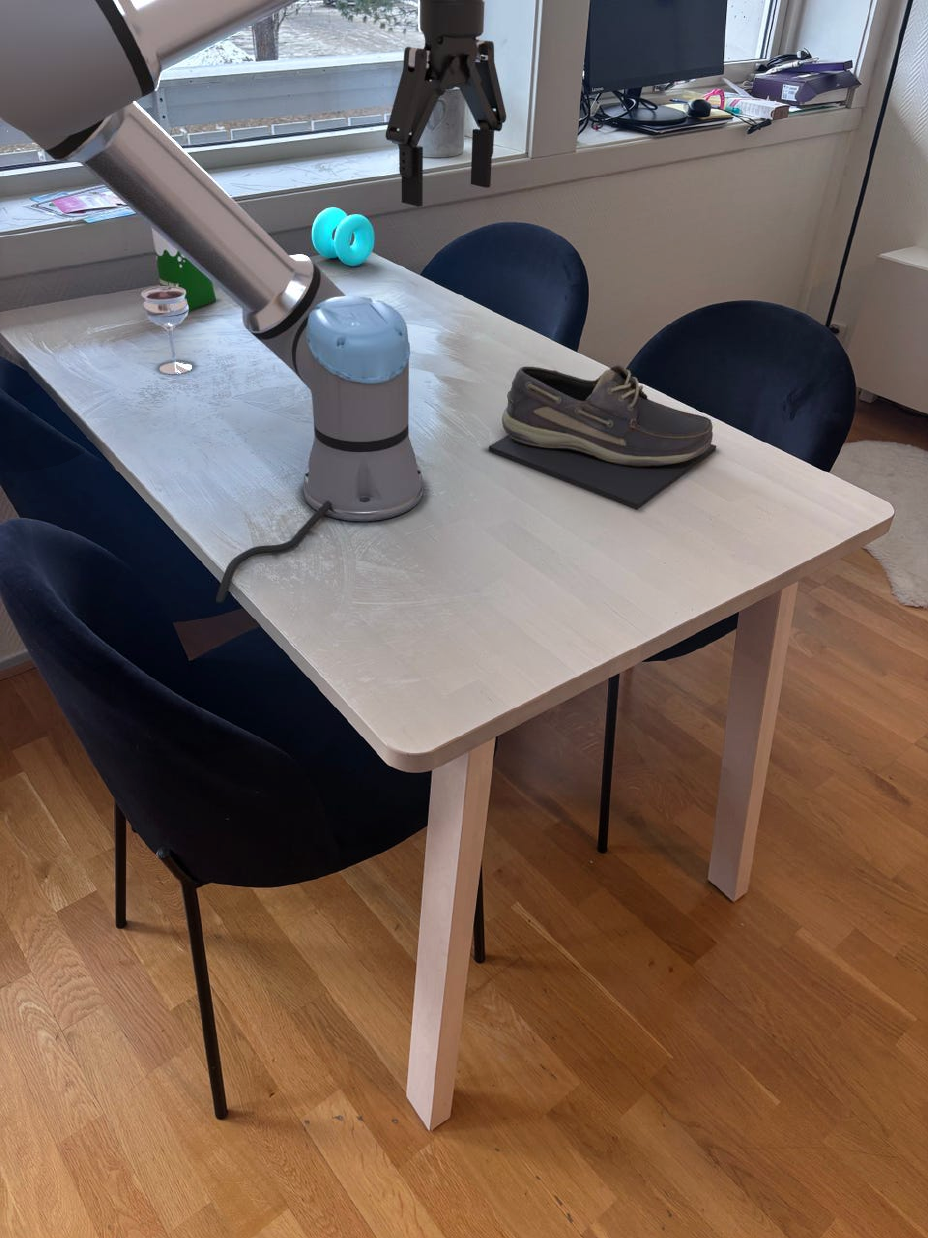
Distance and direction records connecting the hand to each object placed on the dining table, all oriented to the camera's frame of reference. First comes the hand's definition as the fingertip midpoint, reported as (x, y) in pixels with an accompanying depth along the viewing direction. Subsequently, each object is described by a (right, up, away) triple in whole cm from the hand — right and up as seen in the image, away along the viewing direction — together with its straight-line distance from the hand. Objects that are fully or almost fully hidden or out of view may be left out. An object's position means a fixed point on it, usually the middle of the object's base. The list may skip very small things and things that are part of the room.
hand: (447, 194), depth 121 cm
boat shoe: (+22, -30, +14) cm, 39 cm away
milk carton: (-49, +5, +57) cm, 76 cm away
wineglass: (-44, -13, +33) cm, 57 cm away
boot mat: (+22, -30, +14) cm, 40 cm away
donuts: (-23, +21, +80) cm, 86 cm away
